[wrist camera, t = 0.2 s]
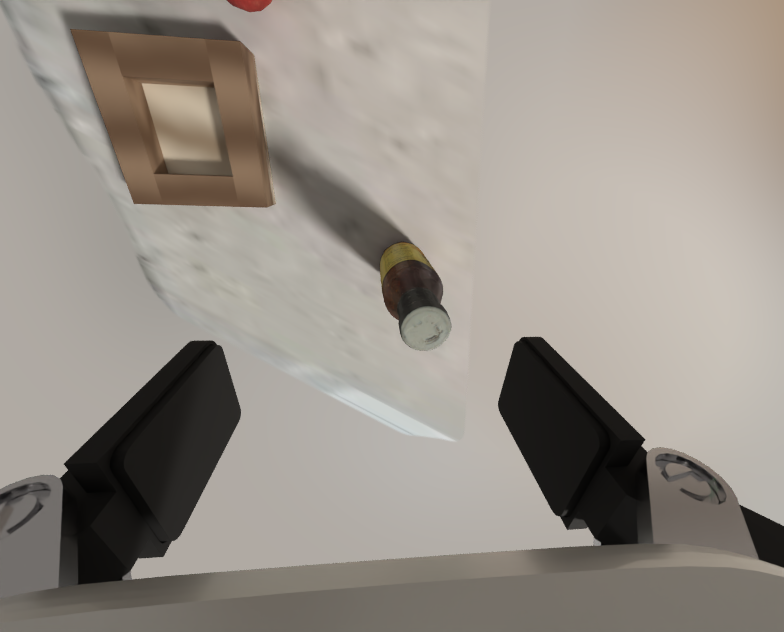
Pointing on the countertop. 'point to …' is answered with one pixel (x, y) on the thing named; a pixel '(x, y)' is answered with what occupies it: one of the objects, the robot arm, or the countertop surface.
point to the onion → (250, 4)
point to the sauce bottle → (414, 296)
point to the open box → (181, 117)
